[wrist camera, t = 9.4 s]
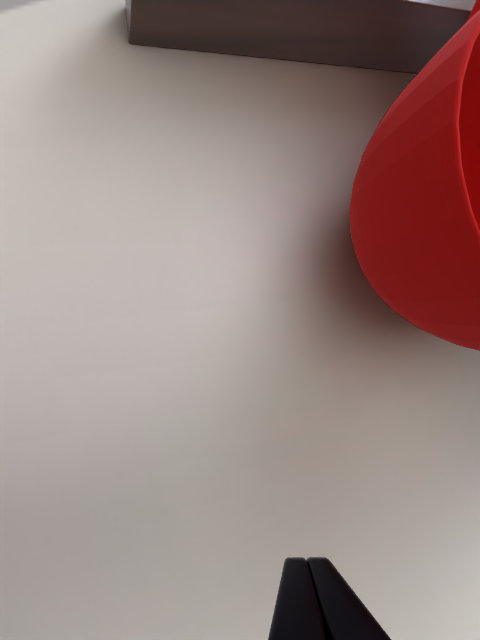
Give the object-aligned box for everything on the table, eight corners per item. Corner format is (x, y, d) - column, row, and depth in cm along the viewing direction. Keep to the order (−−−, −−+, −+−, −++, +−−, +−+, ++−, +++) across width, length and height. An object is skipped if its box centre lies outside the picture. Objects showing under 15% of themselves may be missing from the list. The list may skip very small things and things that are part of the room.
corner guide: (544, 479, 25) (634, 509, 21) (179, 578, 18) (199, 650, 14) (496, 53, 25) (574, -6, 21) (125, 5, 19) (128, -93, 15)
